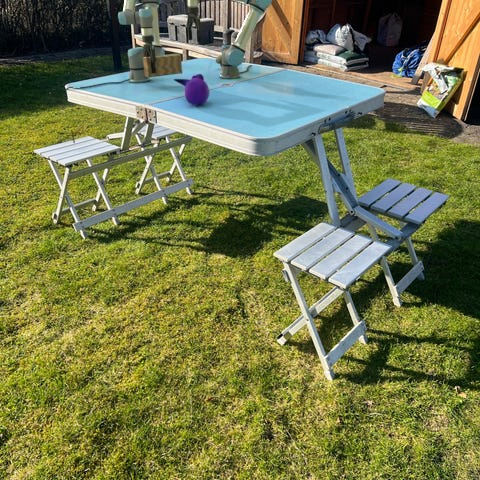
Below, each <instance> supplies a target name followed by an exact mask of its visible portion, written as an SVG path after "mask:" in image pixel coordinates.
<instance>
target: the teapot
mask: <svg viewBox="0 0 480 480" xmlns="http://www.w3.org/2000/svg"><path fill="white" fill-rule="evenodd" d="M215 64H218V65H219V66H220V67H221V68H222V55H218V56H217V57H216V58H215Z"/></svg>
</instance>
